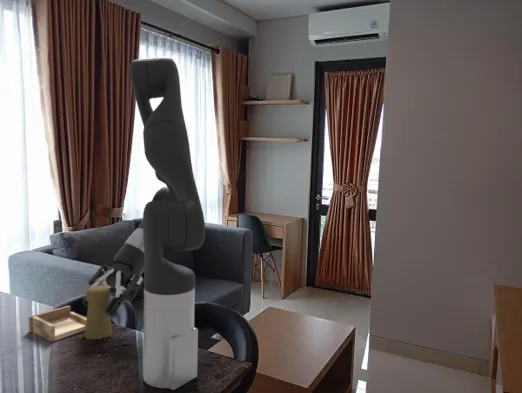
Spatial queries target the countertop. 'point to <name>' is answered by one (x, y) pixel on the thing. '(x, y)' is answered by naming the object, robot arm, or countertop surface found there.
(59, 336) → the wooden open tray
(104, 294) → the cork
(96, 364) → the countertop surface
